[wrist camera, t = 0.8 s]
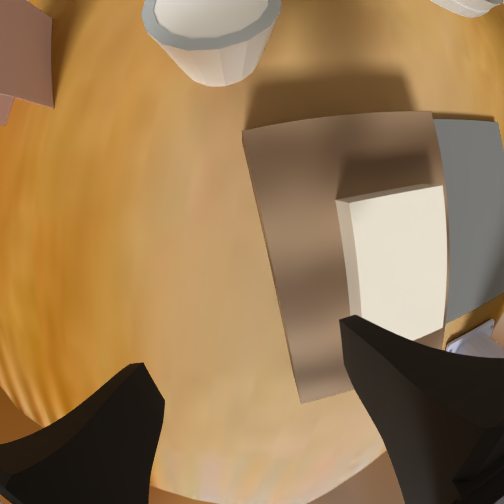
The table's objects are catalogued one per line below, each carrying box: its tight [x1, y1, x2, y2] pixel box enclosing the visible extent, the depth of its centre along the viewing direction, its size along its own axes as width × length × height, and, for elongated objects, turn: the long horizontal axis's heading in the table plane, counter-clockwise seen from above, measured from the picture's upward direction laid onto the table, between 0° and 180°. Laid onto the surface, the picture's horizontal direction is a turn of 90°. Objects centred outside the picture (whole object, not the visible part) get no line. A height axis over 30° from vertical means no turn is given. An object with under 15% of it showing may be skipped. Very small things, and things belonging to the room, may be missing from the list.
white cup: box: [141, 0, 281, 86], centre depth 12 cm, size 7×7×7 cm
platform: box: [242, 111, 450, 404], centre depth 17 cm, size 18×12×4 cm, turn 13°
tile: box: [335, 184, 447, 341], centre depth 14 cm, size 9×6×2 cm, turn 13°
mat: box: [433, 119, 504, 324], centre depth 18 cm, size 18×12×1 cm
